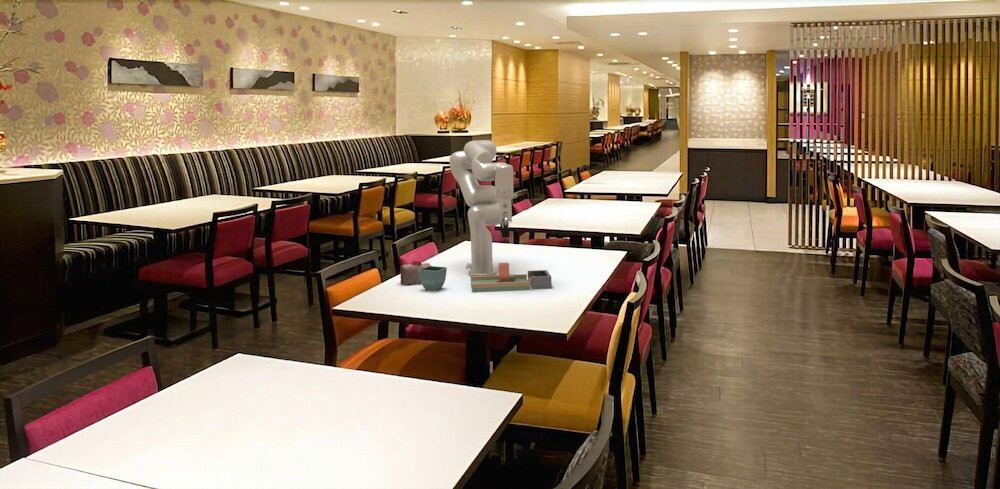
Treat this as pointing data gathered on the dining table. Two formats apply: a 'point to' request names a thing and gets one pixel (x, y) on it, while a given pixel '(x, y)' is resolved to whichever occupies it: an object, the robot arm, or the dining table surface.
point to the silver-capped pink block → (505, 273)
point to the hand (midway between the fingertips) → (504, 235)
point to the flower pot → (433, 277)
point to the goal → (540, 279)
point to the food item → (412, 272)
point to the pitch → (491, 283)
